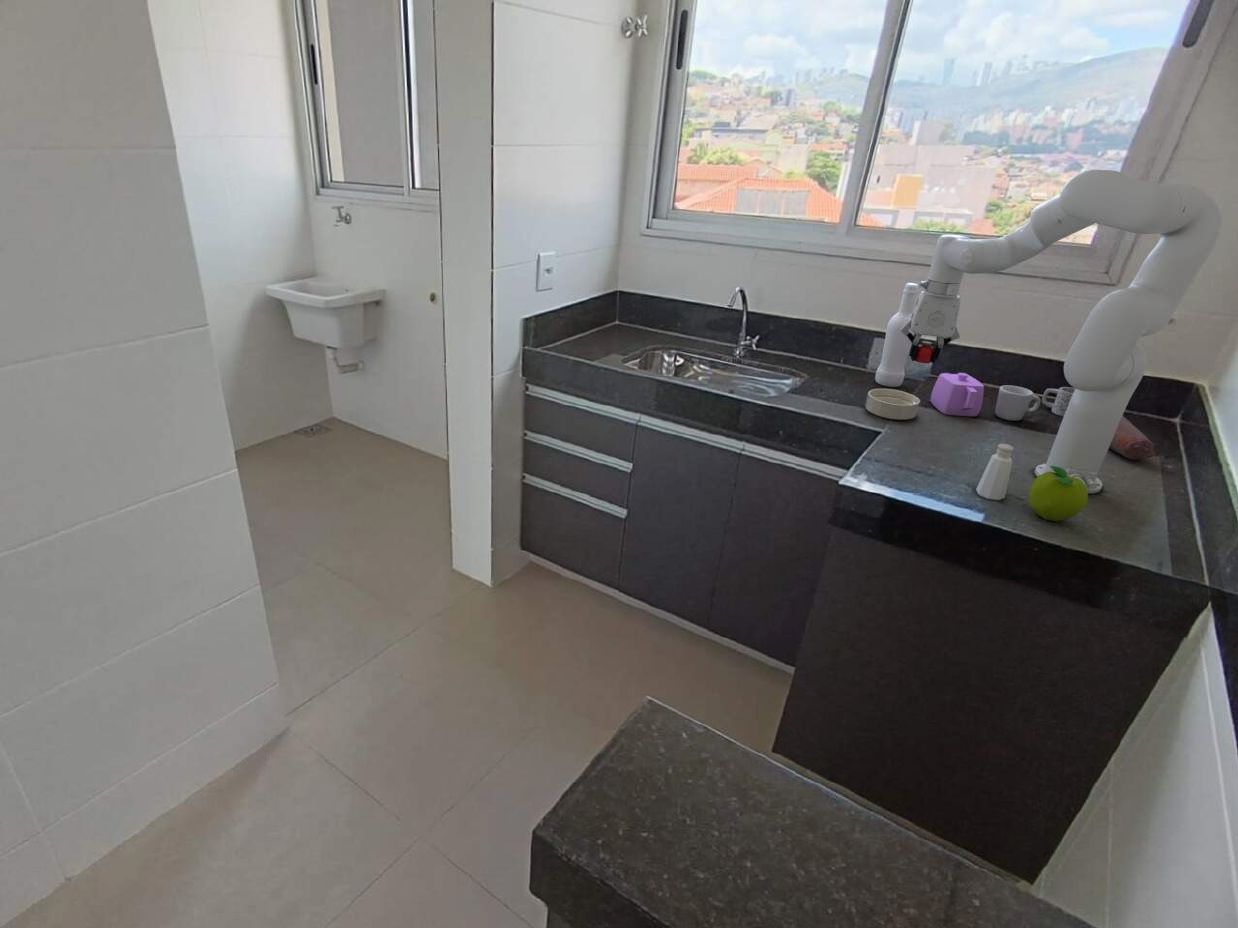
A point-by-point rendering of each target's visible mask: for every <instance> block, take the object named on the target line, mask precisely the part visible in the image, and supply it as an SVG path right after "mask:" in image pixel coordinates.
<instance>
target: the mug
mask: <svg viewBox="0 0 1238 928" xmlns="http://www.w3.org/2000/svg"><path fill="white" fill-rule="evenodd" d="M1075 389H1076V388H1074V387H1069V386H1061V387H1059V388H1046V390H1044V391H1043V392H1044V393H1043V394H1042V398H1041V403H1042V404H1043V405H1045V406H1046V407H1048V408H1051V413H1053V414H1055V415H1058V416H1061V417H1062V418H1063V417H1064V415H1065V412H1066V410H1067V407H1068V405H1069V402H1070V400H1071V397H1072V395H1073V393H1074V391H1075ZM1051 393H1053V394H1056V397H1055V400H1054V402H1049V401H1048V400H1047V398H1048V395H1049V394H1051Z"/></svg>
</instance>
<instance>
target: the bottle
mask: <svg viewBox="0 0 1238 928" xmlns="http://www.w3.org/2000/svg"><path fill="white" fill-rule="evenodd" d="M918 289H919V284H918V283H915V282H907V283H906V284H905V285H904V289H903V290H902V297H901V301H900V305H899V308H898V311H897V312H896V313H895V314H894V315H893V316H892V317H891V318H890V319H889V320H888V323H887V326H886V332H885V338H884V343H883V349H882V354H881V361H880V364H879V366H878V367H877V369H876V372H875V377H874V379H875V383H877V384H879V385H881V386H883V387H889V388H897V387H900V386H902V385H903V382H904V379H905V375H906V372H905V366H906V363H907V359H908V356H909V353H910V349H911V345H912V342H911V341H910V340H909V338H908V337H907V336H906V335H905V334H903V333H902V332H901V328H902V327H903V326H904V325H905V324H906V323H907V322H908V321H909V320H910V319H911V316H912V313H913V310H914V308H915V302H916V297H917V294H918ZM908 331H909V332H911V333H912V335H914V333H913V332H912V331H911V329H910V328H909V330H908Z"/></svg>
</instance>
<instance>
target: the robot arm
mask: <svg viewBox="0 0 1238 928" xmlns="http://www.w3.org/2000/svg"><path fill="white" fill-rule="evenodd" d="M1029 217H1030V218H1029V221H1028V222H1027V223H1025V224H1024V225H1022V226H1020V227H1019V228H1017V229H1015V230H1013V231H1011V232H1009V233H1007V234H1005V235H1003V236H1001V237H999V238H984V239H983V238H977V239H971V237H968V236H965V235H959V234H942V235H940V236H939V237H938V239H937V242H936V244H935V249H934V251H933V256H932V260H931V263H930V268H929V271H928V276H927V278H926V279H925V280H924V281H919V284H918V288H922V289H923V290H922V291H921V292H920V293H919V295H918V298H917V300H916V301H915V302H916V303H915V304H914V307H913V311H912V316H911V319H910V320H909V321H908V322H907V323H906V324H905V325H904V326H903V327H902V328H901V332H902V333H903V334H905V335H906V336H907V337H908V338H909V340H910V341H911V342H912V344H911V347H910V350H909V353H908V356H909V357H910V360H911V361H912V362H916V361H915V360H916V356H917V353H918V349H919V346H920V345H919V342H920V339H921V338H922V336H929V337H936V338H935V341H936V342H935V344H933V345H932V348H933V355H932V359H931V362H930V364H935V363H936V361H937V360H939V356H940V353H941V350H942V348H944V346H946V345H947V344H950V343H951V342H953V341H955V340H958V339H959V338H960V336H961V335H960V333H959V330H958V328H957V325H958V324H957V323H958V318H959V315H960V308H961V296H960V295H959V292H960V291H959V290H960V287H961V285H962V280H963V277H964V273H966V274H970V275H971V274H972V275H977V274H987V273H998V272H1003V271H1005V270H1008V269H1010V268H1012V267H1014V266H1017V265H1020V264H1021V263H1023V262H1025V261H1027V260H1030V259H1032V258H1033V257H1035V256H1037V255H1038V254H1040V253H1043V252H1044V250H1046V249H1048V248H1050V246H1052V245H1053V244H1055V243H1056V242H1059V241H1061V240H1063V239H1065V238H1067V237H1069V236H1071V235H1074V234H1075V233H1078V232H1080V231H1082V230H1085V229H1086V228H1088V227H1090V226H1093V225H1095V224H1097V225H1100V226H1104V227H1109V228H1112V229H1115V230H1116V229H1117V230H1120V231H1124V232H1128V233H1133V234H1138V235H1139V234H1140V235H1153V234H1154V235H1155V234H1159V235H1160V238H1159V240H1158V242H1157V244H1156V245H1155V246H1154V247H1153V248H1152V249H1151V251H1150V252H1149V253H1148V255H1147V257H1146V258H1145V259H1144V260H1143V261H1142V264H1141V266H1140V268H1139V270H1138V272H1137V273H1136V274H1135V276H1134V278H1133V280H1132V281H1131V283H1130V284H1129V286H1128V287H1125V288H1120V289H1117V290H1114V291H1111V292H1110V293H1108V294H1107V295H1105V296H1103V297H1102V298H1101V299H1100V300H1099V301H1098V302H1097V303H1096V305H1095V306H1094V307H1093V308H1092V310H1091V311H1090V313H1089V315H1088V317H1087V318H1086V321H1085V322H1084V324H1083V325H1082V327H1081V329H1080V331H1079V332H1078V335H1077V337H1076V338H1075V340H1074V342H1073V344H1072V345H1071V346H1070V347H1071V348H1070V349H1069V351H1068V353H1067V355H1066V358H1065V360H1064V363H1063V374H1064V378H1065V380H1066V382H1067V383H1068V384H1069V385H1070V386H1071V388H1076V389H1075V391H1074V393H1073V395H1072V397H1071V400H1070V402H1069V405H1068V407H1067V410H1066V412H1065V415H1064V417H1063V416H1062V420H1061V423H1060V425H1059V429H1058V431H1057V434H1056V437H1055V439H1054V441H1053V445H1052V447H1051V450H1050V452H1049V454H1048V457H1047V460H1046V462H1045V463H1042V464H1041V463H1040V464H1038V465H1037V466H1036V467H1035V469H1034V474H1035V476H1036V478H1037V477H1038V476H1040V475H1041V474H1043V473H1045V472H1054V470H1053V469H1052V468H1051V467H1050V466H1057V467H1060V468H1062V469H1064V470H1065V471H1066V472H1067V476H1069V477H1074V478H1078V479H1080V480H1081V481H1082V482H1083V483H1084V485H1085V487H1086V489H1087V492H1088V495H1089V494H1097V493H1098V492H1100V491H1101V490H1102V488H1103V482H1102V480H1101V479H1099V478H1098V474H1099V472H1100V471H1101V468H1102V465H1103V463H1104V461H1105V458H1106V456H1107V454H1108V451H1109V449H1110V448H1109V446H1110V444H1111V441H1112V439H1113V437H1114V434H1115V432H1116V429H1117V427H1118V425H1119V422H1120V420H1121V418H1122V416H1124V413H1125V411H1126V408H1127V406H1128V404H1129V402H1130V400H1131V398H1132V396H1133V394H1134V393H1135V391H1136V389H1137V387H1138V386H1139V384H1140V383H1141V380H1142V379H1143V377H1144V375H1145V372H1146V371H1147V366H1148V355H1147V352H1146V349H1145V348H1144V347H1143V346H1142V345H1141V344H1140V343H1139V340H1140V338H1142V337H1146V336H1151V335H1154V334H1156V333H1158V332H1160V331H1162V330H1163V329H1164V328H1165V327H1166V326H1167V325H1168V324H1169V322H1170V321H1171V319H1172V317H1173V316H1174V314H1175V312H1176V311H1177V309H1178V307H1179V305H1180V304H1181V303H1182V301H1183V299H1184V297H1185V296H1186V294H1187V292H1188V291H1189V289H1190V288H1191V286H1192V284H1193V283H1194V281H1195V279H1196V278H1197V275H1198V274H1199V273H1200V270H1201V269H1202V268H1203V266H1204V265H1205V263H1206V261H1207V260H1208V258H1209V256H1210V255H1211V253H1212V251H1213V249H1214V248H1215V246H1216V244H1217V241H1218V238H1219V236H1220V232H1221V228H1222V214H1221V210H1220V208H1219V206H1218V204H1217V203H1216V201H1215V200H1214V198H1213V197H1212V196H1211V195H1210V194H1209V193H1208V192H1206V191H1205V190H1203V189H1201V188H1199V187H1197V186H1194V185H1190V184H1186V183H1165V182H1163V183H1162V182H1155V181H1149V180H1143V179H1138V178H1132V177H1129V176H1128V175H1127V174H1125V173H1123V172H1122V171H1117V170H1112V169H1111V170H1109V169H1088V170H1084V171H1082V172H1079V173H1077V174H1076V175H1074V176H1073V177H1071V178H1070V179H1069V180H1067V182H1066V183H1065V184H1064V186H1063V187H1062V189H1061V192H1060V193H1059V194H1058V195H1055V196H1053V197H1051V198H1050V199H1048V200H1045V201H1044V202H1042V203H1040V204H1039V205H1037V206H1035V207H1034V208H1033V210H1032V211H1031V213H1030V216H1029ZM909 328H910V329H911V331H912V332H913V333H914V335H912V333H911V332H909V331H908V330H909ZM1054 473H1056V472H1054Z"/></svg>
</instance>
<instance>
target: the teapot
mask: <svg viewBox="0 0 1238 928" xmlns="http://www.w3.org/2000/svg"><path fill="white" fill-rule="evenodd" d="M984 393H985V385H984V384H983V383H981V381H979V380H978V379H976V378H975V377H973V376H971V375H969V374H968V373H966V372H958V373H955V374H954V373H950V372H943V373H940V374H939V376H938V377H937V379H936V381H935V384H934V386H933V388H932V391H931V394H930V403H931V404H932V406H933V407H935V409H937V410H938V411H940V412H941V413H942V414H944V415H945V416H946V415H947V416H959V417H960V416H961V417H977V416H978V415H979V413H981V410H982V407H983V406H982V405H983V401H984Z"/></svg>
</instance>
